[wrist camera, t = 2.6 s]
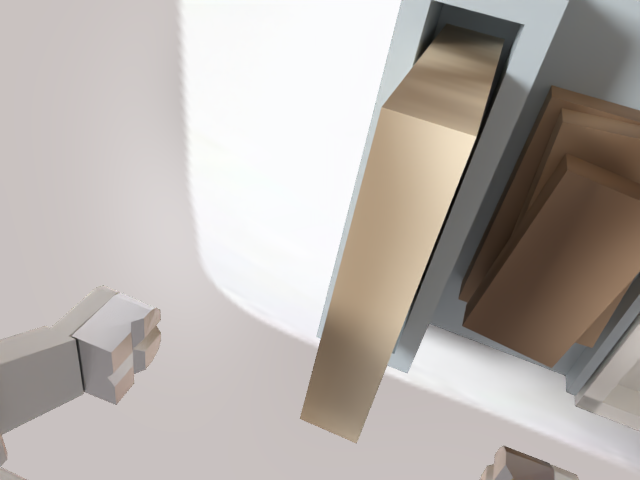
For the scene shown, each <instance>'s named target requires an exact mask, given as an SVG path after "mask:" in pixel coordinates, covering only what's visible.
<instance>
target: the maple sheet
mask: <svg viewBox="0 0 640 480" xmlns="http://www.w3.org/2000/svg"><path fill="white" fill-rule="evenodd" d="M504 40H505V39H502V38H498V37H495V36H491V35H487V34H484V33H480V32H477V31H473V30H469V29H466V28H462V27H458V26H455V25H451V24H446V25H445V26H444V28H443V29H442V30H441V31H440V33H439V34H438V35H437V37H436V38H435V39H434V40H433V42H432V43H431V44H430V46H429V47H428V48H427V49H426V51H425V52H424V53H423V54H422V56H421V57H420V58H419V60H418V61H417V62H416V63H415V65H414V66H413V67H412V69H411V70H410V71H409V72H408V74H407V75H406V76H405V78H404V79H403V80H402V81H401V83H400V84H399V85H398V86H397V88H396V89H395V90H394V92H393V93H392V94H391V95H390V97H389V98H388V99H387V101H386V102H385V103H384V104H383V106H382V107H381V111H380V115H379V118H378V122H377V126H376V130H375V134H374V137H373V141H372V145H371V149H370V153H369V157H368V160H367V164H366V168H365V172H364V176H363V180H362V183H361V187H360V191H359V195H358V199H357V202H356V206H355V210H354V214H353V218H352V222H351V225H350V229H349V233H348V237H347V241H346V245H345V248H344V252H343V256H342V260H341V264H340V267H339V271H338V275H337V279H336V283H335V287H334V290H333V294H332V298H331V302H330V306H329V310H328V313H327V317H326V321H325V325H324V329H323V332H322V336H321V340H320V344H319V348H318V352H317V356H316V359H315V363H314V367H313V371H312V375H311V379H310V382H309V386H308V390H307V394H306V398H305V402H304V405H303V409H302V413H301V417H300V419H302V420H304V421H306V422H309V423H311V424H313V425H315V426H318V427H320V428H322V429H325V430H327V431H329V432H332V433H334V434H336V435H339V436H341V437H343V438H345V439H348V440H350V441H352V442H354V443H357V441H358V439H359V436H360V433H361V431H362V428H363V426H364V423H365V420H366V418H367V416H368V413H369V410H370V408H371V405H372V403H373V400H374V398H375V395H376V392H377V390H378V387H379V385H380V382H381V380H382V377H383V375H384V372H385V370H386V367H387V364H388V362H389V359H390V357H391V354H392V352H393V349H394V347H395V344H396V341H397V339H398V336H399V334H400V331H401V329H402V326H403V324H404V321H405V318H406V316H407V313H408V311H409V308H410V306H411V303H412V301H413V298H414V295H415V293H416V290H417V288H418V285H419V283H420V280H421V278H422V275H423V272H424V270H425V267H426V265H427V262H428V260H429V257H430V255H431V252H432V249H433V247H434V244H435V242H436V239H437V237H438V234H439V232H440V229H441V226H442V224H443V221H444V219H445V216H446V214H447V211H448V209H449V206H450V203H451V201H452V198H453V196H454V193H455V191H456V188H457V186H458V183H459V180H460V178H461V175H462V173H463V170H464V168H465V165H466V163H467V160H468V157H469V155H470V152H471V150H472V147H473V145H474V142H475V140H476V137H477V134H478V130H479V127H480V123H481V120H482V116H483V113H484V109H485V106H486V102H487V99H488V96H489V92H490V89H491V85H492V82H493V78H494V75H495V71H496V68H497V64H498V61H499V57H500V54H501V50H502V47H503V43H504Z"/></svg>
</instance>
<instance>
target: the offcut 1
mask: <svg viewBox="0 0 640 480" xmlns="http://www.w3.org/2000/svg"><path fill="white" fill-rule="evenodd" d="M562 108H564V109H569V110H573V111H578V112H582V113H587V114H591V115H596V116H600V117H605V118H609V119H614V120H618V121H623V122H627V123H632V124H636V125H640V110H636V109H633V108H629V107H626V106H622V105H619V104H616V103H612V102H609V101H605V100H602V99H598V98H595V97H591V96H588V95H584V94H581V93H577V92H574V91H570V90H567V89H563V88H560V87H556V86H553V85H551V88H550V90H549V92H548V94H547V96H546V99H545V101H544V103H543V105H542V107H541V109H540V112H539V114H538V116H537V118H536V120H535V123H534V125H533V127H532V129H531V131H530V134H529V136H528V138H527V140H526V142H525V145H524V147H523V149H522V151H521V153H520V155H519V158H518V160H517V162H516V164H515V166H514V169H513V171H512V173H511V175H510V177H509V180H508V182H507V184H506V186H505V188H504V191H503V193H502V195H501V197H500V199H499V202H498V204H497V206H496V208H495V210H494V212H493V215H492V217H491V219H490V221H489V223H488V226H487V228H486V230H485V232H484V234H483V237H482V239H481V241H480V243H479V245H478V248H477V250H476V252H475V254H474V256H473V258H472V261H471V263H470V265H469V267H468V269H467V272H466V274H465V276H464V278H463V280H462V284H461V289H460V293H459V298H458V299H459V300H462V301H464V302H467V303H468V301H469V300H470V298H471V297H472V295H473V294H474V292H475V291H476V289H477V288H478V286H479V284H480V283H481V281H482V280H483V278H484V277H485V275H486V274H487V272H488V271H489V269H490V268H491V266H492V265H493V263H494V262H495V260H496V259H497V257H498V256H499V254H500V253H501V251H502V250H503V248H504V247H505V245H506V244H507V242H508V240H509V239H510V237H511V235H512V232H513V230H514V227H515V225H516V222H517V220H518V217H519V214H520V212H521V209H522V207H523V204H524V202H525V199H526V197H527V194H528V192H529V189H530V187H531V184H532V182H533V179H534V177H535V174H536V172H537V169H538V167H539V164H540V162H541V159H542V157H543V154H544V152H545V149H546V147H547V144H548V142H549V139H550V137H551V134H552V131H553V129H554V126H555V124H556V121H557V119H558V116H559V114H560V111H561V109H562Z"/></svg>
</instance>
